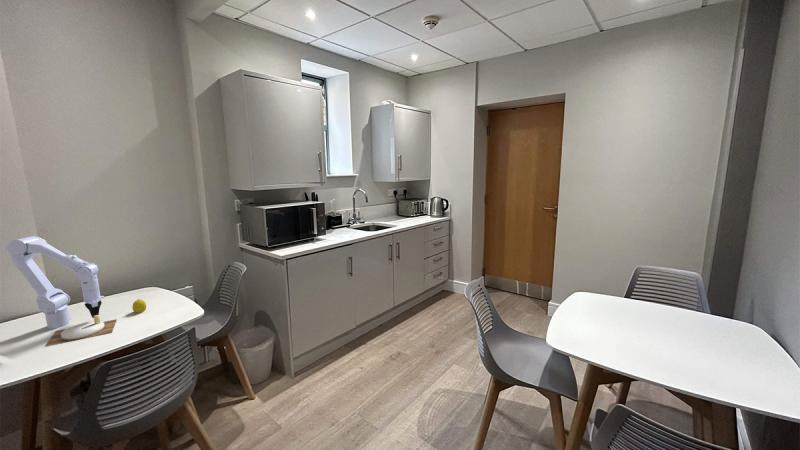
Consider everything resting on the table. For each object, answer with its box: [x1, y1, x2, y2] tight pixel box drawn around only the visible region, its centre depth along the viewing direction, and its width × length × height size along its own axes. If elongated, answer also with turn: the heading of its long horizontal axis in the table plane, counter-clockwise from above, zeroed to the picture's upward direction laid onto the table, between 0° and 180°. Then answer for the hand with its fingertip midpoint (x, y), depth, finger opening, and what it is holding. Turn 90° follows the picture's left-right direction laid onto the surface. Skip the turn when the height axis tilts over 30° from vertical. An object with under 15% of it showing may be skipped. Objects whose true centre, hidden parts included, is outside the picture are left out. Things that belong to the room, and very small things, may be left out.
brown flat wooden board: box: [44, 318, 118, 348], centre depth 146 cm, size 16×21×2 cm
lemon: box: [132, 298, 147, 314], centre depth 166 cm, size 6×6×8 cm
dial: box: [61, 314, 105, 340], centre depth 145 cm, size 14×14×5 cm
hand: (95, 316), depth 154 cm, fingers closed
